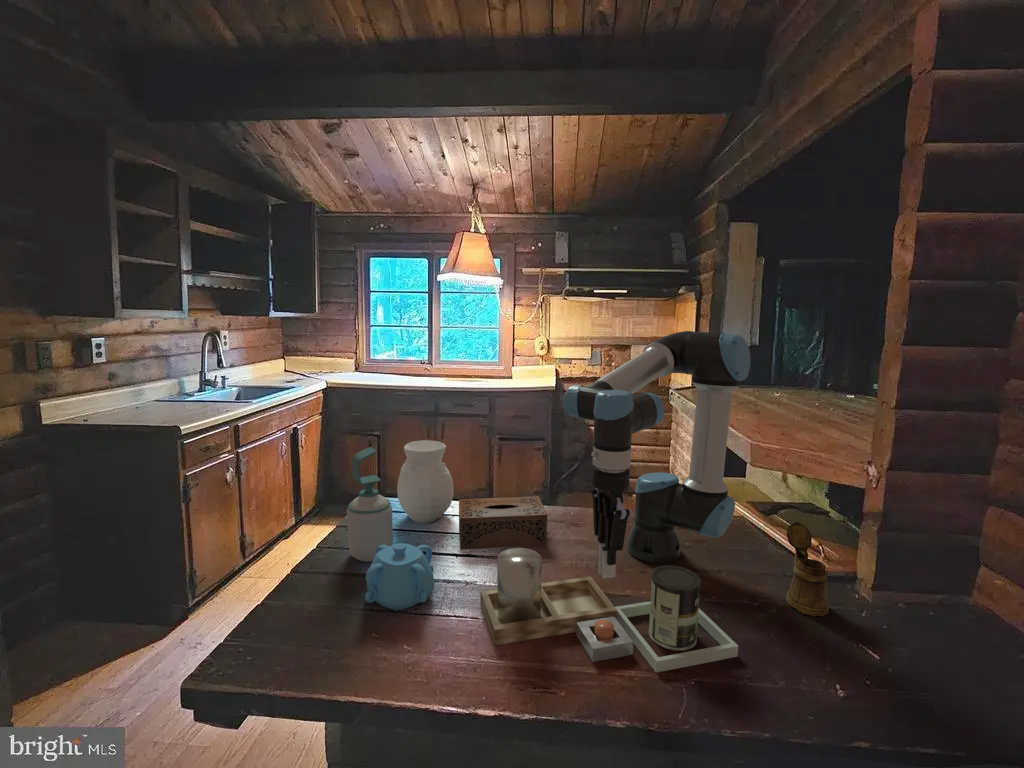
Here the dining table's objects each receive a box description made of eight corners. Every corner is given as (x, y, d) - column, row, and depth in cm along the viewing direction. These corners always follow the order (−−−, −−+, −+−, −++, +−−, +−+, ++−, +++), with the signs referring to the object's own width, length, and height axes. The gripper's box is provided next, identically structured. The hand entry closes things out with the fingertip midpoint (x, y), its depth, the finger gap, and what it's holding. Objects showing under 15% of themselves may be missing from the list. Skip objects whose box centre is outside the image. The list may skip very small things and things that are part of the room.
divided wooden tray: (590, 589, 134) (590, 576, 134) (616, 625, 120) (617, 610, 119) (480, 605, 127) (480, 591, 126) (494, 645, 113) (494, 629, 112)
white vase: (428, 534, 164) (427, 457, 160) (386, 520, 174) (383, 447, 170) (465, 513, 180) (464, 442, 176) (424, 502, 190) (422, 434, 185)
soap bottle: (400, 557, 150) (396, 451, 144) (356, 569, 143) (351, 459, 138) (384, 540, 160) (380, 441, 155) (343, 551, 153) (338, 447, 148)
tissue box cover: (460, 550, 155) (460, 518, 153) (459, 528, 169) (458, 499, 167) (546, 546, 158) (547, 514, 156) (538, 525, 172) (538, 496, 170)
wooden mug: (806, 586, 137) (813, 520, 134) (836, 617, 124) (845, 546, 121) (771, 585, 137) (778, 520, 134) (797, 616, 124) (805, 545, 121)
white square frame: (685, 605, 128) (685, 595, 128) (737, 656, 110) (738, 645, 110) (613, 616, 123) (614, 607, 123) (655, 672, 105) (656, 661, 105)
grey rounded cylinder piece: (533, 599, 128) (534, 545, 125) (546, 624, 118) (547, 566, 116) (492, 605, 125) (493, 550, 123) (503, 631, 116) (503, 572, 113)
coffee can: (693, 624, 120) (697, 567, 118) (699, 654, 111) (704, 592, 108) (647, 618, 123) (650, 562, 120) (649, 647, 113) (652, 586, 110)
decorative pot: (441, 581, 138) (440, 532, 135) (425, 618, 122) (424, 564, 120) (380, 578, 139) (378, 529, 137) (357, 614, 123) (354, 560, 121)
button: (608, 635, 116) (608, 618, 115) (616, 646, 112) (617, 629, 111) (591, 638, 115) (591, 621, 114) (598, 649, 111) (599, 632, 110)
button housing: (613, 628, 119) (613, 616, 118) (632, 654, 110) (633, 641, 110) (576, 634, 116) (576, 622, 116) (592, 662, 108) (593, 648, 107)
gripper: (580, 457, 112) (577, 560, 116) (609, 480, 99) (604, 595, 103) (612, 455, 114) (608, 556, 118) (645, 477, 101) (639, 590, 105)
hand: (606, 574), depth 111 cm, fingers closed
